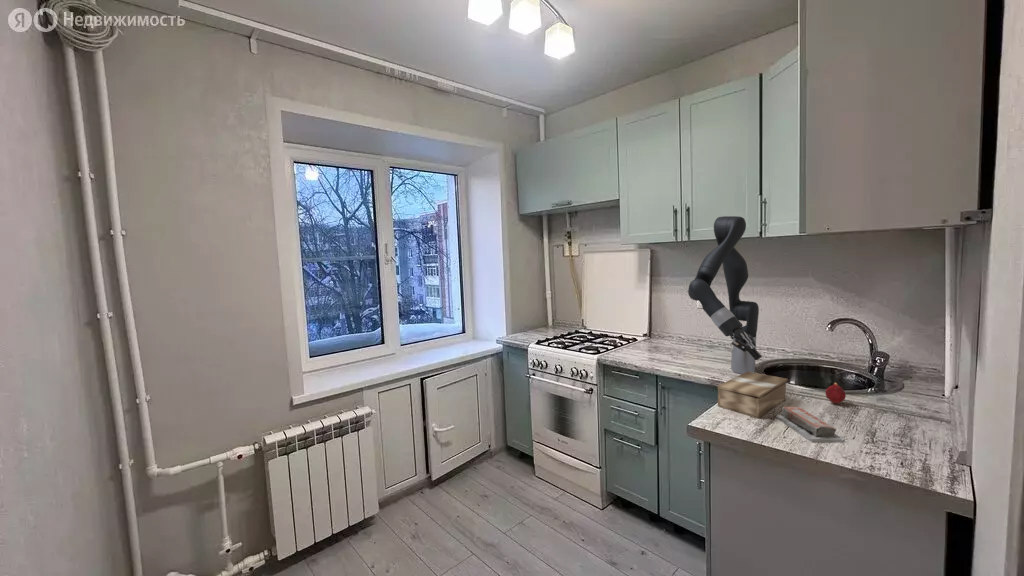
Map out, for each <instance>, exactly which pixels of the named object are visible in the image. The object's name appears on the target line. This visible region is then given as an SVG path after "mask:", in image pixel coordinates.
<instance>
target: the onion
mask: <svg viewBox="0 0 1024 576" xmlns="http://www.w3.org/2000/svg"><path fill="white" fill-rule="evenodd" d="M825 397H826V398H827V399H828V400H829V402H831V403H832V404H834V405H837V404H839V403H842V402H844V400H846V397H847V395H846V392H845V390H844V389H843V387H841V386H840V385H839V384H838V383H837V382H833V384H832V385H830V386H828V387H827V388H826V390H825Z"/></svg>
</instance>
